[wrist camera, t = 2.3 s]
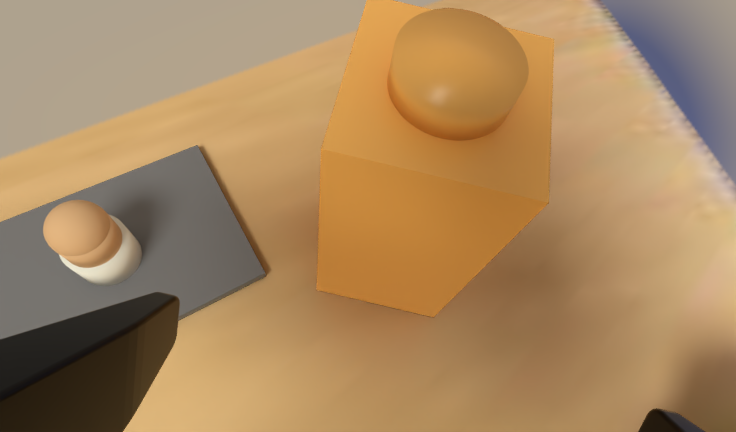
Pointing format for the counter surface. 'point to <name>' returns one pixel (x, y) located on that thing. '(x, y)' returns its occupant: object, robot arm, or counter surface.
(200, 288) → the plate
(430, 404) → the counter surface
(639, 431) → the robot arm
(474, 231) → the orange toy brick
